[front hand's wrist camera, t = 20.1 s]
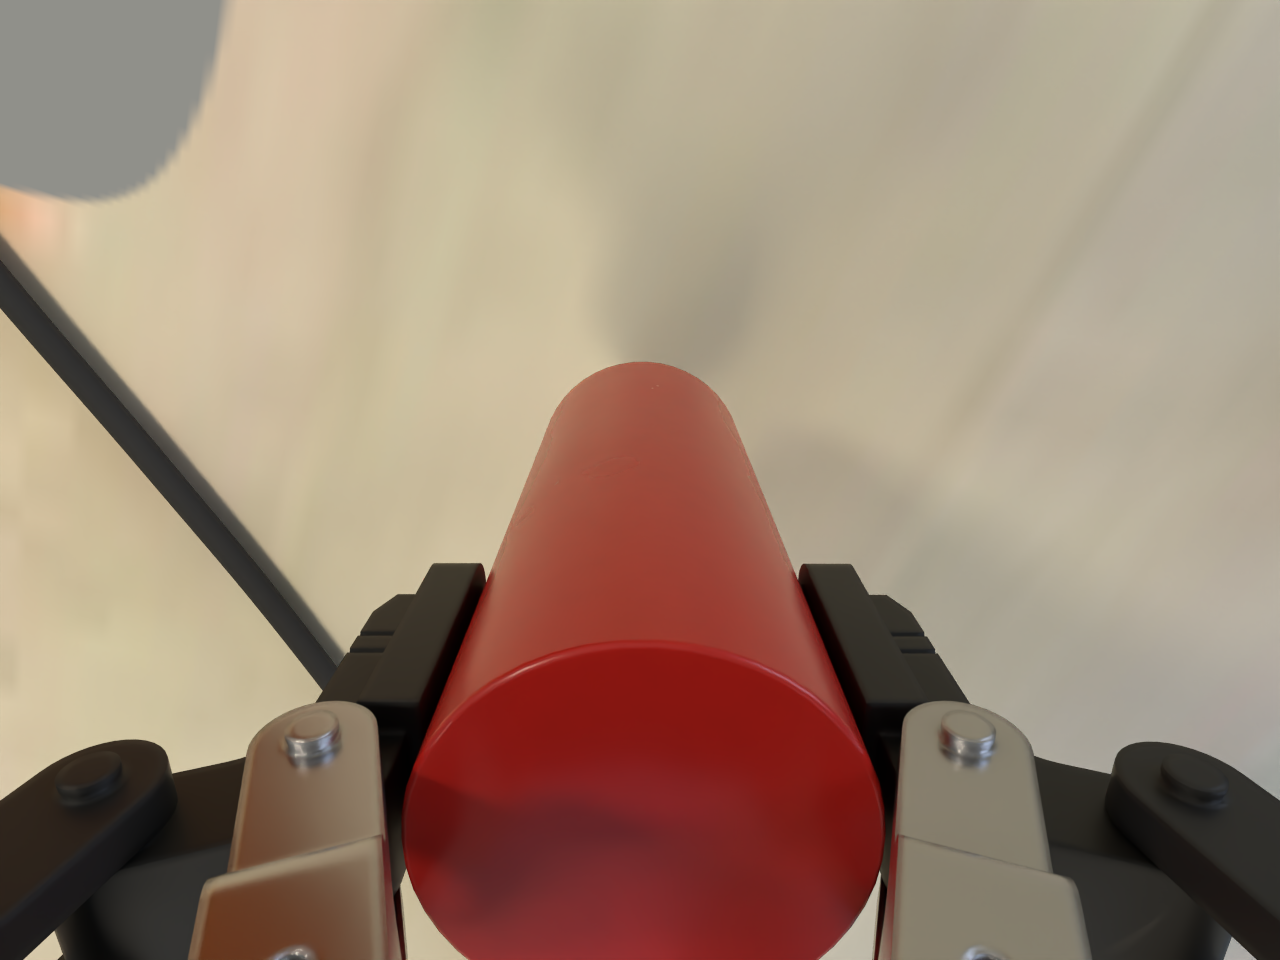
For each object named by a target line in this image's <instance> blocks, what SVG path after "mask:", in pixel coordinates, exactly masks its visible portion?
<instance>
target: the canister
mask: <svg viewBox="0 0 1280 960" xmlns="http://www.w3.org/2000/svg"><path fill="white" fill-rule="evenodd" d="M885 836H886V820H885V805H884V801H883V796H882V792H881V787H880V783H879V780H878V777H877V775H876V772H875V770H874V767H873V765H872V762H871V760H870V757H869V755H868V753H867V750H866V748H865V745H864V743H863V740H862V738H861V735H860V733H859V730H858V728H857V725H856V723H855V720H854V718H853V715H852V713H851V711H850V708H849V706H848V703H847V701H846V698H845V696H844V693H843V691H842V688H841V686H840V683H839V681H838V678H837V676H836V673H835V671H834V668H833V666H832V664H831V661H830V659H829V656H828V654H827V651H826V649H825V646H824V644H823V641H822V639H821V636H820V634H819V631H818V629H817V626H816V624H815V621H814V619H813V617H812V614H811V612H810V609H809V607H808V604H807V602H806V599H805V597H804V594H803V592H802V589H801V587H800V584H799V582H798V579H797V577H796V574H795V572H794V570H793V567H792V565H791V562H790V560H789V557H788V555H787V552H786V550H785V547H784V545H783V542H782V540H781V537H780V535H779V532H778V530H777V527H776V525H775V523H774V520H773V518H772V515H771V513H770V510H769V508H768V505H767V503H766V500H765V498H764V495H763V493H762V490H761V488H760V485H759V483H758V480H757V478H756V476H755V473H754V471H753V468H752V466H751V463H750V461H749V458H748V456H747V453H746V451H745V448H744V446H743V443H742V441H741V438H740V436H739V434H738V431H737V429H736V426H735V424H734V421H733V419H732V416H731V414H730V413H729V411H728V409H727V408H726V406H725V404H724V403H723V402H722V400H721V399H720V398H719V397H718V395H717V394H716V393H715V392H714V391H713V390H712V389H711V388H710V387H709V386H708V385H706V384H705V383H703V382H702V381H701V380H699V379H698V378H697V377H695V376H693V375H691V374H689V373H688V372H686V371H683V370H681V369H678V368H675V367H673V366H669V365H665V364H661V363H652V362H631V363H624V364H619V365H615V366H612V367H608V368H605V369H603V370H601V371H599V372H596V373H594V374H593V375H591V376H589V377H588V378H586V379H584V380H583V381H582V382H580V383H579V384H578V385H577V386H575V387H574V388H573V389H572V390H571V391H570V392H569V393H568V394H567V395H566V396H565V397H564V399H563V400H562V401H561V403H560V404H559V406H558V407H557V409H556V410H555V412H554V414H553V416H552V418H551V420H550V423H549V425H548V428H547V430H546V433H545V435H544V438H543V440H542V443H541V445H540V448H539V451H538V453H537V456H536V458H535V461H534V463H533V466H532V468H531V471H530V473H529V476H528V478H527V481H526V483H525V486H524V488H523V491H522V493H521V496H520V498H519V501H518V504H517V506H516V509H515V511H514V514H513V516H512V519H511V521H510V524H509V526H508V529H507V531H506V534H505V536H504V539H503V541H502V544H501V546H500V549H499V552H498V554H497V557H496V559H495V562H494V564H493V567H492V569H491V572H490V574H489V577H488V579H487V582H486V584H485V587H484V589H483V592H482V594H481V597H480V600H479V602H478V605H477V607H476V610H475V612H474V615H473V617H472V620H471V622H470V625H469V627H468V630H467V632H466V635H465V637H464V640H463V642H462V645H461V647H460V650H459V653H458V655H457V658H456V660H455V663H454V665H453V668H452V670H451V673H450V675H449V678H448V680H447V683H446V685H445V688H444V690H443V693H442V695H441V698H440V701H439V703H438V706H437V708H436V711H435V713H434V716H433V718H432V721H431V723H430V726H429V728H428V731H427V733H426V736H425V738H424V741H423V743H422V746H421V749H420V751H419V754H418V756H417V759H416V761H415V764H414V766H413V769H412V772H411V775H410V778H409V780H408V783H407V786H406V789H405V795H404V800H403V806H402V812H401V840H402V846H403V853H404V859H405V865H406V869H407V872H408V875H409V878H410V881H411V884H412V887H413V889H414V891H415V893H416V895H417V897H418V899H419V901H420V903H421V905H422V907H423V909H424V911H425V912H426V914H427V915H428V916H429V918H430V919H431V921H432V922H433V923H434V925H435V926H436V928H437V929H438V930H439V932H440V933H441V934H442V935H443V936H444V937H445V938H446V939H447V940H448V941H449V942H450V943H451V945H452V946H453V947H454V948H455V949H456V950H457V951H458V952H460V953H461V954H462V955H463V956H464V957H466V958H467V959H468V960H819V959H820V958H821V957H822V956H823V955H825V954H826V953H827V952H828V951H829V950H830V949H831V948H833V947H834V946H835V945H836V943H837V942H838V941H839V940H840V939H841V938H842V937H843V936H844V934H845V933H846V932H847V931H848V930H849V929H850V928H851V926H852V925H853V923H854V922H855V920H856V919H857V917H858V916H859V914H860V913H861V911H862V910H863V908H864V907H865V905H866V903H867V901H868V899H869V897H870V894H871V892H872V890H873V888H874V886H875V884H876V881H877V877H878V874H879V870H880V867H881V863H882V860H883V853H884V844H885Z"/></svg>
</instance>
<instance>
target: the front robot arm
mask: <svg viewBox="0 0 1280 960" xmlns="http://www.w3.org/2000/svg"><path fill="white" fill-rule="evenodd" d="M0 308H1V309H2V311H3V312H4V313H5V314H6V315H7V316H8V318H9V319H10V320H11V321H12V322H13V323H14V325H15V326H16V327H17V328H18V329H19V330H20V332H21V333H22V334H23V335H24V336H25V337H26V338H27V340H28V341H29V342H30V343H31V344H32V345H33V346H34V348H35V349H36V350H37V351H38V352H39V353H40V355H41V356H42V357H43V358H44V359H45V360H46V361H47V363H48V364H49V365H50V366H51V367H52V368H53V369H54V371H55V372H56V373H57V374H58V375H59V376H60V377H61V379H62V380H63V381H64V382H65V383H66V384H67V385H68V387H69V388H70V389H71V390H72V391H73V392H74V393H75V394H76V396H77V397H78V398H79V399H80V400H81V401H82V402H83V404H84V405H85V406H86V407H87V408H88V409H89V410H90V412H91V413H92V414H93V415H94V416H95V417H96V419H97V420H98V421H99V422H100V423H101V424H102V425H103V427H104V428H105V429H106V430H107V431H108V432H109V433H110V435H111V436H112V437H113V438H114V439H115V440H116V442H117V443H118V444H119V445H120V446H121V447H122V449H123V450H124V451H125V452H126V453H127V454H128V455H129V457H130V458H131V459H132V460H133V461H134V462H135V464H136V465H137V466H138V467H139V468H140V469H141V471H142V472H143V473H144V474H145V475H146V477H147V478H148V479H149V480H150V481H151V482H152V484H153V485H154V486H155V487H156V488H157V489H158V491H159V492H160V493H161V494H162V495H163V496H164V498H165V499H166V500H167V501H168V502H169V503H170V505H171V506H172V507H173V508H174V509H175V510H176V512H177V513H178V514H179V515H180V516H181V517H182V519H183V520H184V521H185V522H186V523H187V524H188V526H189V527H190V528H191V529H192V530H193V531H194V533H195V534H196V535H197V536H198V537H199V539H200V540H201V541H202V542H203V543H204V544H205V546H206V547H207V548H208V549H209V550H210V551H211V553H212V554H213V555H214V556H215V557H216V558H217V560H218V561H219V562H220V563H221V564H222V566H223V567H224V568H225V569H226V570H227V572H228V573H229V574H230V575H231V576H232V577H233V579H234V580H235V581H236V582H237V583H238V585H239V586H240V587H241V588H242V589H243V591H244V592H245V593H246V594H247V596H248V597H249V598H250V599H251V600H252V602H253V603H254V604H255V605H256V607H257V608H258V609H259V610H260V611H261V613H262V614H263V615H264V616H265V618H266V619H267V620H268V621H269V623H270V624H271V625H272V626H273V628H274V629H275V630H276V631H277V633H278V634H279V635H280V636H281V638H282V639H283V640H284V642H285V643H286V644H287V645H288V647H289V648H290V649H291V650H292V652H293V653H294V654H295V656H296V657H297V658H298V659H299V661H300V662H301V663H302V664H303V666H304V667H305V668H306V670H307V671H308V672H309V673H310V675H311V676H312V677H313V679H314V680H315V681H316V682H317V684H318V685H319V686H320V688H321V689H322V690H323V692H322V693H321V695H320V696H319V698H318V700H317V701H316V703H313V704H309V705H305V706H302V707H299V708H296V709H293V710H291V711H289V712H287V713H284V714H282V715H281V716H279V717H277V718H275V719H274V720H272V721H271V722H269V723H268V724H267V725H265V726H264V727H263V728H262V729H261V730H260V731H259V732H258V733H257V734H256V735H255V737H254V738H253V739H252V741H251V743H250V744H249V747H248V750H247V754H246V757H244V758H241V759H237V760H233V761H229V762H225V763H220V764H215V765H211V766H206V767H201V768H197V769H192V770H187V771H183V772H178V773H173V774H172V772H171V768H170V764H169V760H168V756H167V754H166V752H165V750H164V749H163V748H162V747H161V746H159V745H157V744H155V743H153V742H149V741H145V740H119V741H112V742H107V743H103V744H99V745H95V746H92V747H89V748H86V749H83V750H81V751H78V752H75V753H73V754H71V755H69V756H67V757H64V758H62V759H61V760H59V761H57V762H55V763H53V764H51V765H50V766H48V767H47V768H45V769H44V770H42V771H41V772H39V773H38V774H37V775H35V776H34V777H32V778H31V779H30V780H28V781H27V782H26V783H24V784H23V785H21V786H20V787H19V788H17V789H16V790H14V791H13V792H12V793H10V794H9V795H8V796H6V797H5V798H3V799H2V800H1V801H0V960H23V959H24V958H25V957H27V956H28V955H29V954H30V953H31V952H32V951H33V950H34V949H35V948H36V947H37V946H38V945H39V944H40V943H41V942H43V941H44V940H45V939H46V938H47V937H48V936H49V935H50V934H51V933H52V932H53V931H55V933H56V936H57V939H58V942H59V944H60V947H61V950H62V953H63V955H62V956H61V957H60V958H59V959H58V960H408V954H407V943H406V932H405V921H404V909H403V899H402V892H401V885H400V884H401V882H402V879H403V876H404V873H405V870H406V865H405V859H404V853H403V846H402V840H401V812H402V806H403V800H404V795H405V789H406V786H407V783H408V780H409V778H410V775H411V772H412V769H413V766H414V764H415V761H416V759H417V756H418V754H419V751H420V749H421V746H422V743H423V741H424V738H425V736H426V733H427V731H428V728H429V726H430V723H431V721H432V718H433V716H434V713H435V711H436V708H437V706H438V703H439V701H440V698H441V695H442V693H443V690H444V688H445V685H446V683H447V680H448V678H449V675H450V673H451V670H452V668H453V665H454V663H455V660H456V658H457V655H458V653H459V650H460V647H461V645H462V642H463V640H464V637H465V635H466V632H467V630H468V627H469V625H470V622H471V620H472V617H473V615H474V612H475V610H476V607H477V605H478V602H479V600H480V597H481V594H482V592H483V589H484V587H485V584H486V578H485V571H484V568H483V565H482V564H481V563H434V564H433V565H432V566H431V567H430V569H429V571H428V573H427V575H426V576H425V578H424V580H423V582H422V584H421V585H420V587H419V589H418V591H417V593H416V594H398V595H396V596H395V597H393V598H392V599H390V600H389V601H388V602H386V603H385V604H383V605H382V606H380V607H379V608H378V609H376V610H375V611H373V613H372V614H371V616H370V617H369V619H368V621H367V622H366V624H365V625H364V627H363V629H362V630H361V634H360V636H357V638H356V640H355V641H354V643H353V644H352V646H351V647H350V653H347V654H346V655H345V657H344V659H343V660H342V662H341V663H340V665H339V666H338V668H337V667H336V665H335V664H334V663H333V662H332V660H331V659H330V658H329V656H328V655H327V654H326V652H325V651H324V650H323V648H322V647H321V646H320V644H319V643H318V642H317V641H316V639H315V638H314V637H313V635H312V634H311V633H310V631H309V630H308V629H307V628H306V626H305V625H304V624H303V622H302V621H301V620H300V619H299V617H298V616H297V615H296V613H295V612H294V611H293V610H292V608H291V607H290V606H289V604H288V603H287V602H286V601H285V599H284V598H283V597H282V596H281V594H280V593H279V592H278V591H277V589H276V588H275V587H274V585H273V584H272V583H271V582H270V581H269V579H268V578H267V577H266V576H265V574H264V573H263V572H262V571H261V569H260V568H259V567H258V566H257V564H256V563H255V562H254V561H253V560H252V558H251V557H250V556H249V555H248V553H247V552H246V551H245V550H244V549H243V547H242V546H241V545H240V544H239V543H238V541H237V540H236V539H235V538H234V537H233V535H232V534H231V533H230V532H229V531H228V529H227V528H226V527H225V526H224V525H223V523H222V522H221V521H220V520H219V519H218V517H217V516H216V515H215V514H214V513H213V511H212V510H211V509H210V508H209V507H208V506H207V504H206V503H205V502H204V501H203V500H202V498H201V497H200V496H199V495H198V494H197V492H196V491H195V490H194V489H193V488H192V486H191V485H190V484H189V483H188V482H187V480H186V479H185V478H184V477H183V476H182V474H181V473H180V472H179V471H178V470H177V468H176V467H175V466H174V465H173V464H172V462H171V461H170V460H169V459H168V458H167V456H166V455H165V454H164V453H163V452H162V451H161V449H160V448H159V447H158V446H157V445H156V443H155V442H154V441H153V440H152V439H151V437H150V436H149V435H148V434H147V433H146V431H145V430H144V429H143V428H142V427H141V426H140V424H139V423H138V422H137V421H136V420H135V418H134V417H133V416H132V415H131V414H130V413H129V411H128V410H127V409H126V408H125V407H124V406H123V404H122V403H121V402H120V401H119V400H118V399H117V397H116V396H115V395H114V394H113V393H112V392H111V390H110V389H109V388H108V387H107V386H106V385H105V383H104V382H103V381H102V380H101V379H100V378H99V376H98V375H97V374H96V373H95V372H94V371H93V369H92V368H91V367H90V366H89V365H88V364H87V362H86V361H85V360H84V359H83V358H82V357H81V355H80V354H79V353H78V352H77V351H76V350H75V348H74V347H73V346H72V345H71V344H70V343H69V341H68V340H67V339H66V338H65V337H64V336H63V334H62V333H61V332H60V331H59V330H58V328H57V327H56V326H55V325H54V324H53V323H52V321H51V320H50V319H49V318H48V317H47V316H46V314H45V313H44V312H43V311H42V310H41V308H40V307H39V306H38V305H37V304H36V302H35V301H34V300H33V299H32V298H31V297H30V295H29V294H28V293H27V292H26V291H25V289H24V288H23V287H22V286H21V285H20V283H19V282H18V281H17V280H16V279H15V277H14V276H13V275H12V274H11V273H10V271H9V270H8V269H7V268H6V267H5V265H4V264H3V263H2V262H1V261H0ZM798 582H799V584H800V587H801V589H802V592H803V594H804V597H805V599H806V602H807V604H808V607H809V609H810V612H811V614H812V617H813V619H814V621H815V624H816V626H817V629H818V631H819V634H820V636H821V639H822V641H823V644H824V646H825V649H826V651H827V654H828V656H829V659H830V661H831V664H832V666H833V668H834V671H835V673H836V676H837V678H838V681H839V683H840V686H841V688H842V691H843V693H844V696H845V698H846V701H847V703H848V706H849V708H850V711H851V713H852V715H853V718H854V720H855V723H856V725H857V728H858V730H859V733H860V735H861V738H862V740H863V743H864V745H865V748H866V750H867V753H868V755H869V757H870V760H871V762H872V765H873V767H874V770H875V772H876V775H877V777H878V780H879V783H880V787H881V792H882V796H883V801H884V805H885V820H886V836H885V844H884V853H883V860H882V863H881V867H880V873H881V879H880V885H879V892H878V899H877V909H876V921H875V932H874V943H873V954H872V960H1223V959H1224V957H1225V954H1226V951H1227V948H1228V946H1229V943H1230V940H1231V937H1233V938H1234V939H1235V940H1236V941H1237V942H1239V943H1240V944H1241V945H1242V946H1243V947H1244V948H1245V949H1246V950H1247V951H1248V952H1249V953H1250V954H1251V955H1252V956H1253V957H1255V958H1256V959H1257V960H1280V801H1279V800H1278V799H1277V798H1275V797H1274V796H1272V795H1271V794H1270V793H1268V792H1267V791H1266V790H1264V789H1263V788H1261V787H1260V786H1259V785H1257V784H1256V783H1255V782H1253V781H1252V780H1250V779H1249V778H1248V777H1246V776H1245V775H1243V774H1242V773H1240V772H1239V771H1237V770H1236V769H1234V768H1233V767H1231V766H1229V765H1227V764H1226V763H1224V762H1222V761H1220V760H1218V759H1216V758H1214V757H1212V756H1209V755H1207V754H1204V753H1202V752H1199V751H1196V750H1194V749H1190V748H1187V747H1183V746H1179V745H1175V744H1170V743H1162V742H1140V743H1134V744H1131V745H1128V746H1126V747H1124V748H1122V749H1121V750H1120V751H1119V752H1118V754H1117V756H1116V758H1115V762H1114V765H1113V769H1112V773H1111V774H1107V773H1102V772H1098V771H1093V770H1088V769H1083V768H1079V767H1074V766H1069V765H1065V764H1060V763H1056V762H1052V761H1048V760H1045V759H1042V758H1039V757H1036V756H1034V754H1033V750H1032V747H1031V744H1030V743H1029V741H1028V739H1027V738H1026V737H1025V735H1024V734H1023V733H1022V732H1021V731H1020V730H1019V729H1018V728H1017V727H1016V726H1015V725H1013V724H1012V723H1011V722H1009V721H1008V720H1006V719H1005V718H1003V717H1001V716H999V715H998V714H996V713H993V712H991V711H989V710H987V709H984V708H981V707H978V706H975V705H971V704H970V703H969V701H968V700H967V698H966V697H965V695H964V694H963V692H962V690H961V689H960V687H959V686H958V684H957V683H956V681H955V680H954V678H953V676H952V675H951V673H950V672H949V670H948V669H947V667H946V666H945V664H944V662H943V661H942V659H941V658H940V656H939V655H938V654H935V648H934V647H933V645H932V644H931V642H930V641H929V639H928V638H927V637H925V636H924V631H923V630H922V628H921V627H920V625H919V624H918V622H917V620H916V619H915V617H914V616H913V614H912V613H911V612H910V611H909V610H907V609H906V608H904V607H903V606H901V605H900V604H899V603H897V602H896V601H894V600H893V599H892V598H890V597H889V596H887V595H869V594H868V592H867V591H866V589H865V587H864V585H863V584H862V582H861V580H860V578H859V576H858V575H857V573H856V571H855V569H854V568H853V566H852V565H851V564H803V565H802V566H801V568H800V572H799V578H798Z"/></svg>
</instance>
